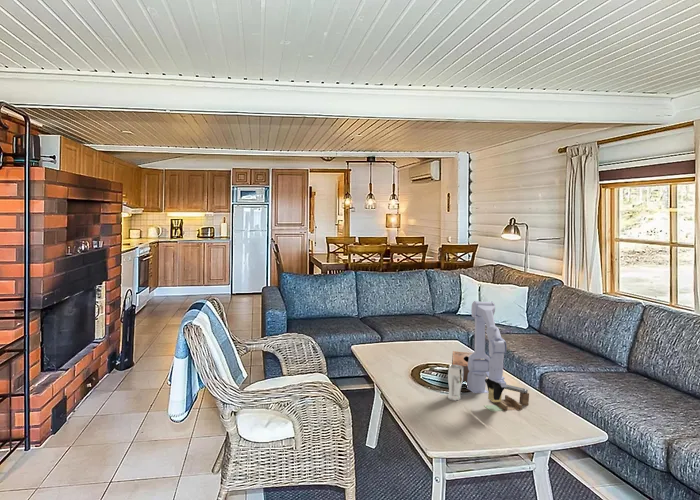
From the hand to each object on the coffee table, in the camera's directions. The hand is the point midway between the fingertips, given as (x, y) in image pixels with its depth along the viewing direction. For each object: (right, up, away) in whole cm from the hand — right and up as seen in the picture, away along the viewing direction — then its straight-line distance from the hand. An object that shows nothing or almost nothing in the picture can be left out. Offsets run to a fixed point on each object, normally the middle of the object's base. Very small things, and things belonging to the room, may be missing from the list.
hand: (494, 397), depth 212 cm
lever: (+11, +1, +10) cm, 15 cm away
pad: (0, -5, 0) cm, 5 cm away
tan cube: (0, -1, 0) cm, 1 cm away
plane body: (+10, -5, +6) cm, 12 cm away
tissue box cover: (-2, -3, +43) cm, 43 cm away
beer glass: (-15, -4, +11) cm, 19 cm away
